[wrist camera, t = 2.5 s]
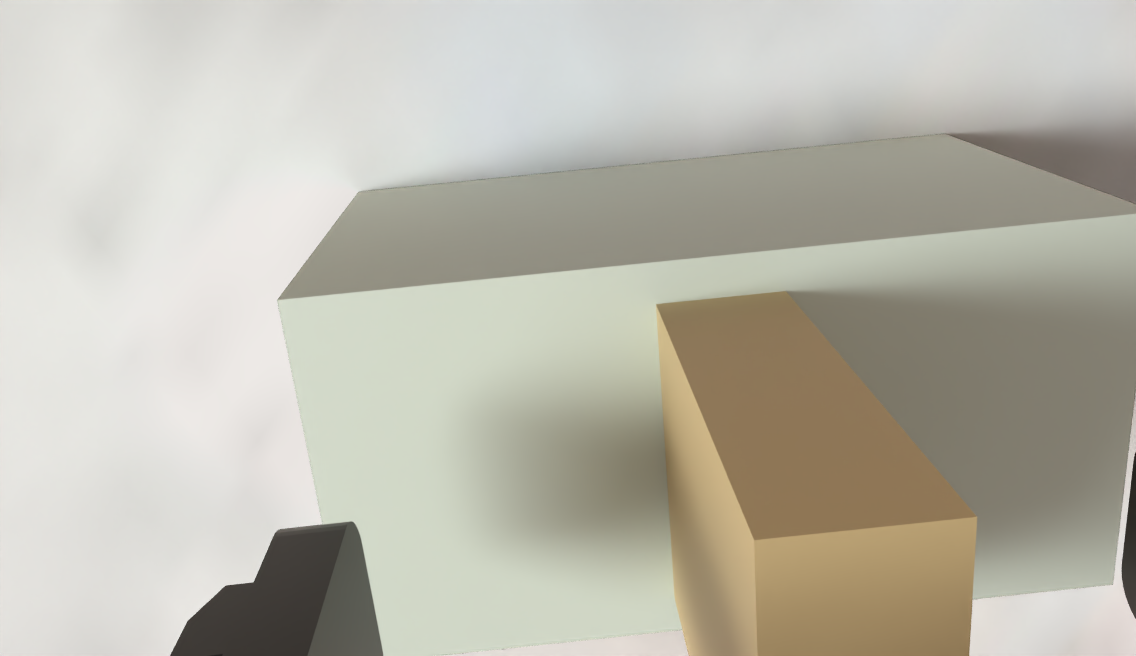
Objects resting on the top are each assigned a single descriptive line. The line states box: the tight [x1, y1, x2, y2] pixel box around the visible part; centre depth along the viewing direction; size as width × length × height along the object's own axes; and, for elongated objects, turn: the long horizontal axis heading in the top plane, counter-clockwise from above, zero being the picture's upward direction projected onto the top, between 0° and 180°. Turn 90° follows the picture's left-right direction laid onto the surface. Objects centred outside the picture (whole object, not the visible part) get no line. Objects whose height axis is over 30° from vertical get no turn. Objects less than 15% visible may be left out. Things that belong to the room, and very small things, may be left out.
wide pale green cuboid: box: [277, 134, 1136, 656], centre depth 12 cm, size 10×5×11 cm, turn 95°
